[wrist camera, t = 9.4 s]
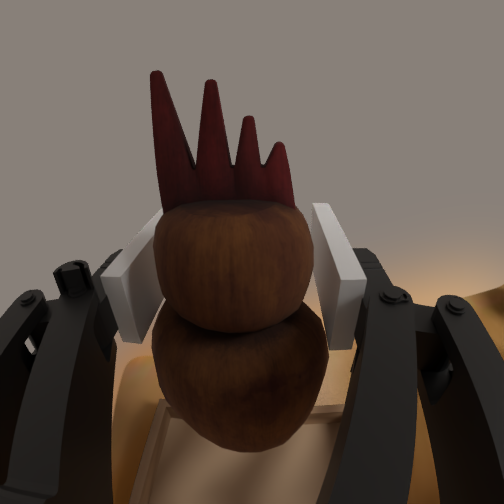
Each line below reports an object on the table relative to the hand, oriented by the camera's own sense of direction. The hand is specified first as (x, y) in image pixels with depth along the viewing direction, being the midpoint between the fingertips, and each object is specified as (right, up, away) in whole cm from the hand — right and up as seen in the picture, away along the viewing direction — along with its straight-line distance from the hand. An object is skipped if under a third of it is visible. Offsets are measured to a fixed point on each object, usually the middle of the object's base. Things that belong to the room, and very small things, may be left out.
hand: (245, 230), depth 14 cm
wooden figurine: (0, -10, -1) cm, 10 cm away
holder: (0, -20, +5) cm, 20 cm away
